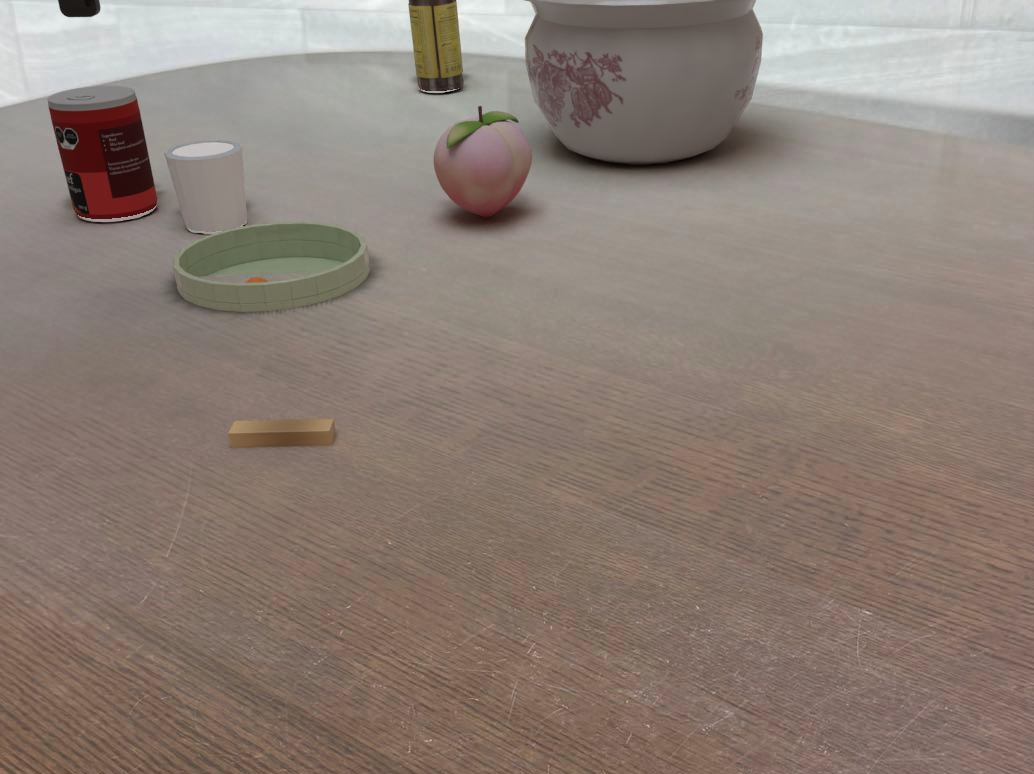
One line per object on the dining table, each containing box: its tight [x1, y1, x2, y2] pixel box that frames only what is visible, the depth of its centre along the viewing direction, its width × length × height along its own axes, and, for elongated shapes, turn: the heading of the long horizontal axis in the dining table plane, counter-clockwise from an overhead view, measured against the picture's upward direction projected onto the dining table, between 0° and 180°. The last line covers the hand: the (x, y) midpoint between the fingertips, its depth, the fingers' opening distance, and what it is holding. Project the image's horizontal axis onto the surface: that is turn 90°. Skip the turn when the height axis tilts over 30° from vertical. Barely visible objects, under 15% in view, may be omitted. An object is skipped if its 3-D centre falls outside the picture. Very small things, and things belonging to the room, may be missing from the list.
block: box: [227, 418, 337, 449], centre depth 72 cm, size 6×2×2 cm, turn 89°
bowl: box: [172, 221, 371, 313], centre depth 96 cm, size 15×15×4 cm
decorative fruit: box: [433, 105, 533, 219], centre depth 109 cm, size 9×8×10 cm
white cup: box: [164, 140, 248, 232], centre depth 111 cm, size 7×7×7 cm
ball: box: [244, 276, 269, 283], centre depth 92 cm, size 2×2×2 cm
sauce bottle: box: [408, 0, 464, 91], centre depth 154 cm, size 6×6×20 cm
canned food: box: [47, 85, 158, 219], centre depth 114 cm, size 8×8×11 cm
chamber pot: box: [524, 0, 764, 166], centre depth 125 cm, size 28×28×21 cm
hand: (106, 5), depth 75 cm, fingers open, 8 cm apart
